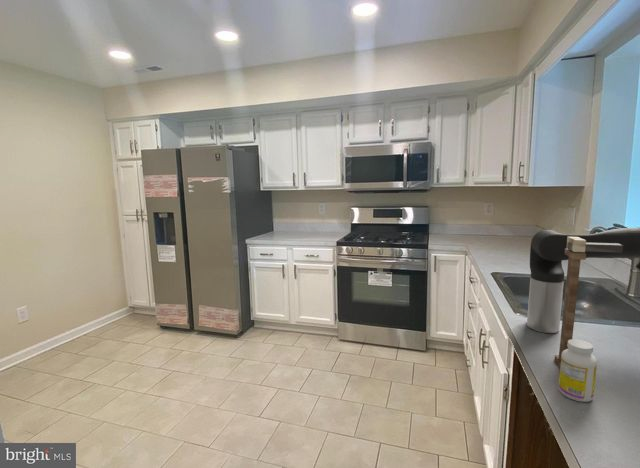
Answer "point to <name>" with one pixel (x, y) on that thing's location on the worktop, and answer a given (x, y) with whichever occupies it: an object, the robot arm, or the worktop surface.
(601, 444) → the worktop surface
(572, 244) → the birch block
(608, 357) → the worktop surface
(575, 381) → the supplement bottle
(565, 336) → the walnut stand
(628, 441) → the worktop surface
